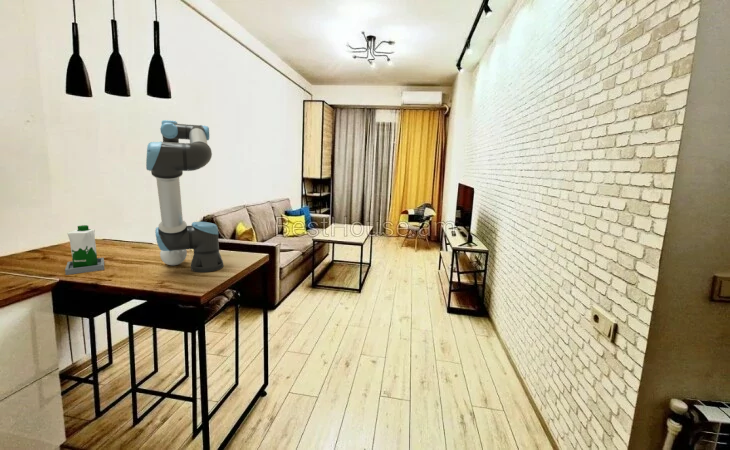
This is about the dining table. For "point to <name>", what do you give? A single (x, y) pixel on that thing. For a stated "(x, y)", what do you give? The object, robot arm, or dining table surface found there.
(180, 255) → the decorative ball
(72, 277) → the dining table surface
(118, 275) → the dining table surface
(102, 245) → the dining table surface
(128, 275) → the dining table surface
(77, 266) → the soya milk
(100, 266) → the holder tray
